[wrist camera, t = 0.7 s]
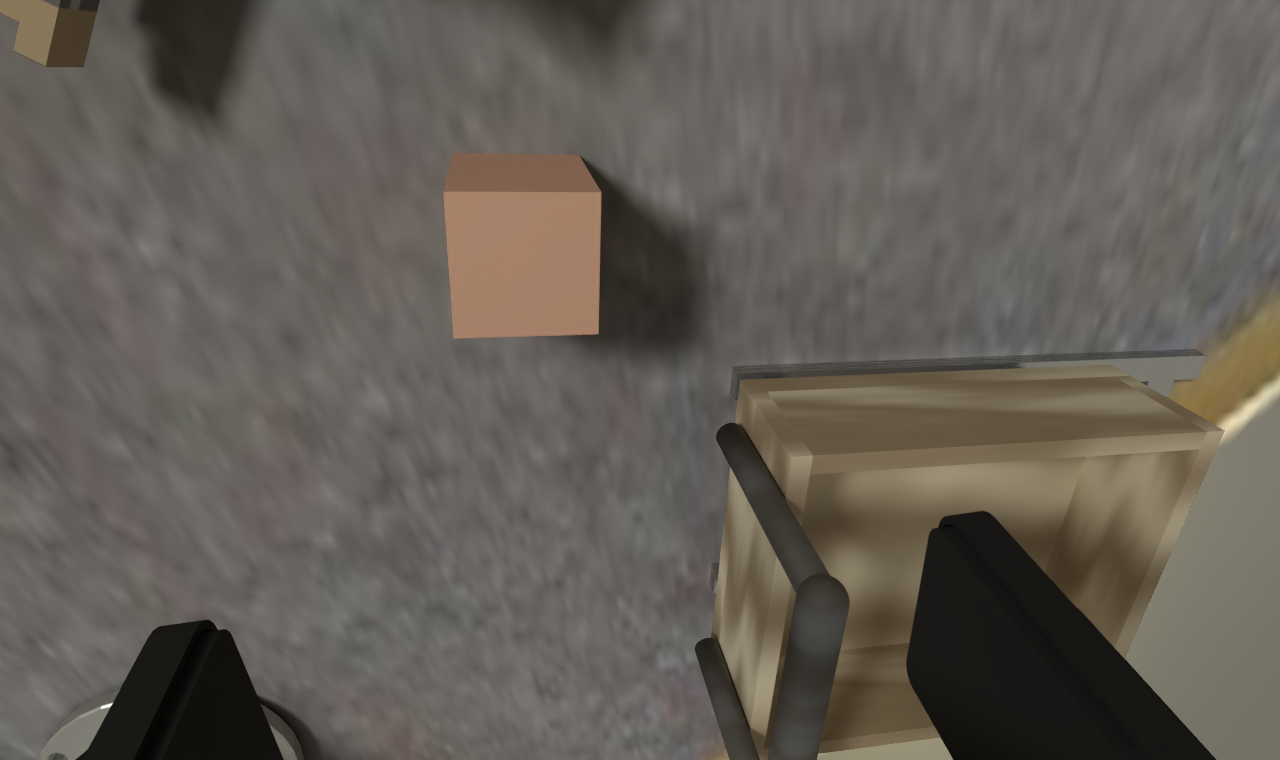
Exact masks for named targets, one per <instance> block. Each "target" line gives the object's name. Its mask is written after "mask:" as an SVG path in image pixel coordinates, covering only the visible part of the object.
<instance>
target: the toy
mask: <svg viewBox="0 0 1280 760" xmlns="http://www.w3.org/2000/svg"><path fill="white" fill-rule="evenodd" d="M99 1H100V0H0V13H2V14H4V15H7V16H9V17H11V18H13V19H15V20H17V21H19V27H18V32H17V37H16V41H15V46H14V51H13V52H15V53H17V54H20V55H22V56H24V57H26V58H28V59H30V60H32V61H34V62H36V63H38V64H40V65H43V66H45V67H84V63H85V59H86V55H87V51H88V47H89V42H90V38H91V34H92V30H93V26H94V22H95V18H96V14H97V9H98V5H99Z"/></svg>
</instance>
